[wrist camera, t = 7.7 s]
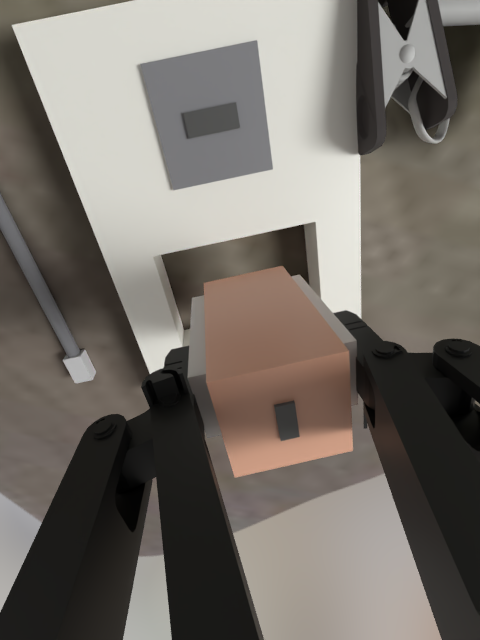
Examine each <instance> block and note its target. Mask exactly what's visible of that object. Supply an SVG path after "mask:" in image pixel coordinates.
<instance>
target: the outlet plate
mask: <svg viewBox="0 0 480 640" xmlns="http://www.w3.org/2000/svg"><path fill="white" fill-rule="evenodd" d="M12 27H13V30H14V32H15V35H16V37H17V40H18V42H19V45H20V48H21V50H22V53H23V55H24V58H25V60H26V63H27V65H28V68H29V70H30V73H31V75H32V78H33V80H34V83H35V85H36V88H37V90H38V93H39V95H40V98H41V100H42V103H43V105H44V108H45V111H46V113H47V116H48V118H49V121H50V123H51V126H52V128H53V131H54V133H55V136H56V138H57V141H58V143H59V146H60V148H61V151H62V153H63V156H64V158H65V161H66V163H67V166H68V169H69V171H70V174H71V176H72V179H73V181H74V184H75V186H76V189H77V191H78V194H79V196H80V199H81V201H82V204H83V206H84V209H85V211H86V214H87V216H88V219H89V221H90V224H91V226H92V229H93V232H94V234H95V237H96V239H97V242H98V244H99V247H100V249H101V252H102V254H103V257H104V259H105V262H106V264H107V267H108V269H109V272H110V274H111V277H112V279H113V282H114V284H115V287H116V290H117V292H118V295H119V297H120V300H121V302H122V305H123V307H124V310H125V312H126V315H127V317H128V320H129V322H130V325H131V327H132V330H133V332H134V335H135V337H136V340H137V342H138V345H139V348H140V350H141V353H142V355H143V358H144V360H145V363H146V365H147V368H148V370H149V373H150V374H151V373H153V372H155V371H157V370H159V369H162V368H164V362H165V357H166V356H167V354H168V353H169V352H170V351H171V349H175V348H180V347H184V346H189V342H190V329H187V330H184V328H183V325H182V321H181V318H180V315H179V312H178V309H177V305H176V302H175V299H174V296H173V292H172V289H171V286H170V283H169V279H168V276H167V273H166V270H165V266H164V263H163V260H162V257H161V255H162V254H167V253H172V252H176V251H181V250H186V249H190V248H195V247H200V246H204V245H209V244H214V243H218V242H223V241H228V240H232V239H237V238H242V237H246V236H251V235H256V234H260V233H265V232H270V231H274V230H279V229H284V228H288V227H293V226H298V225H302V224H304V231H305V243H306V254H307V265H308V277H309V286H310V287H311V288H312V289H313V291H314V292H315V293H316V294H317V295H318V296H319V297H320V299H321V300H322V301H323V302H324V303H325V304H326V306H327V307H328V308H329V309H330V310H331V311H332V313H336V312H340V311H345V310H347V311H350V312H352V313H354V314H357V315H358V316H359V317H360V318H361V221H360V155H359V153H358V136H357V112H356V65H357V0H134V1H129V2H124V3H119V4H114V5H109V6H104V7H99V8H94V9H89V10H84V11H79V12H74V13H69V14H65V15H60V16H55V17H50V18H45V19H40V20H35V21H30V22H25V23H20V24H15V25H12Z"/></svg>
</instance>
